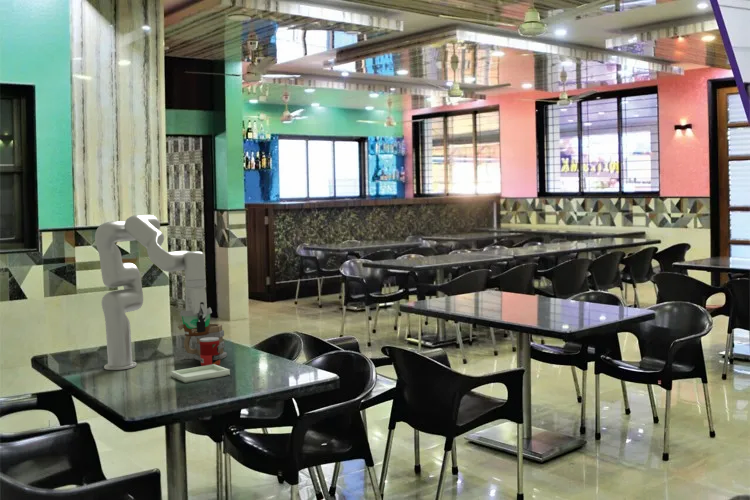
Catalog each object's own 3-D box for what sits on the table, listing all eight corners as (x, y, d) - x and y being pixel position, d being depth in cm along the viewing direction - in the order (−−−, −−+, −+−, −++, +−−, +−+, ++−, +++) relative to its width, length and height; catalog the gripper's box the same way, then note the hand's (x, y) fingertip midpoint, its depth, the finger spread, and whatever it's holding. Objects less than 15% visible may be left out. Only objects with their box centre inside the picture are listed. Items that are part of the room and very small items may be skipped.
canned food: (216, 367, 313) (214, 340, 312) (197, 367, 314) (196, 340, 314) (223, 363, 320) (222, 336, 319) (205, 363, 322) (204, 336, 321)
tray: (171, 376, 299) (170, 371, 299) (214, 369, 310) (214, 364, 310) (185, 382, 288) (185, 377, 288) (229, 374, 298) (229, 369, 298)
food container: (185, 338, 292) (183, 311, 291) (181, 336, 297) (179, 310, 296) (217, 334, 297) (215, 308, 297) (212, 332, 303) (211, 306, 302)
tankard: (230, 354, 338) (228, 320, 337) (219, 361, 325) (217, 325, 324) (186, 354, 341) (185, 320, 340) (174, 360, 329) (172, 325, 328)
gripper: (177, 283, 301) (180, 329, 302) (195, 286, 287) (197, 335, 288) (195, 281, 305) (198, 327, 307) (214, 284, 292) (216, 332, 293)
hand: (198, 330), depth 298 cm, fingers closed on food container, 5 cm apart
